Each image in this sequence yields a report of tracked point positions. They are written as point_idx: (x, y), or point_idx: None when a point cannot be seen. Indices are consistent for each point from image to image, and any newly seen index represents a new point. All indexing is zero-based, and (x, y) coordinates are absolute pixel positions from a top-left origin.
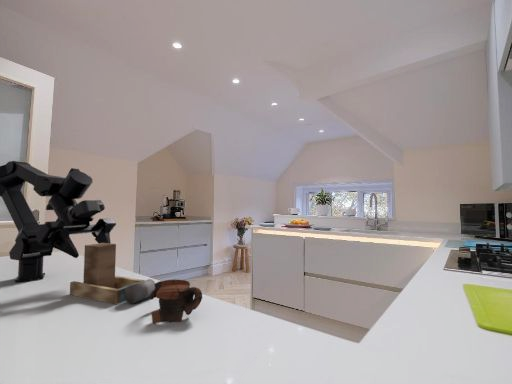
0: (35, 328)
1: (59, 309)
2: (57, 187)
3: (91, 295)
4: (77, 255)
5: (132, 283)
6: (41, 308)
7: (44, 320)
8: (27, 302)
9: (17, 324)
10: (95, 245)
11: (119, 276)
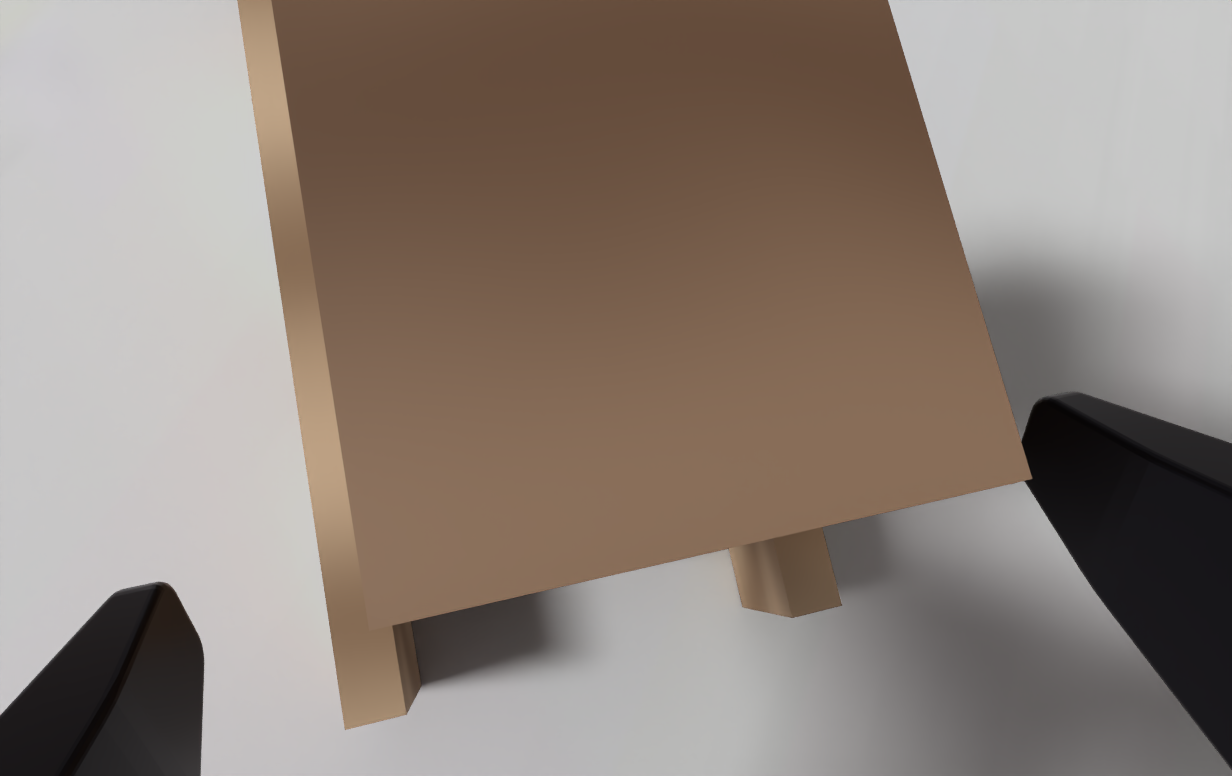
0: (1146, 34)
1: (968, 242)
2: None
3: None
4: (1066, 396)
5: None
6: (1056, 386)
7: (1087, 114)
8: (1109, 667)
9: (1213, 189)
10: (828, 195)
11: (295, 354)
